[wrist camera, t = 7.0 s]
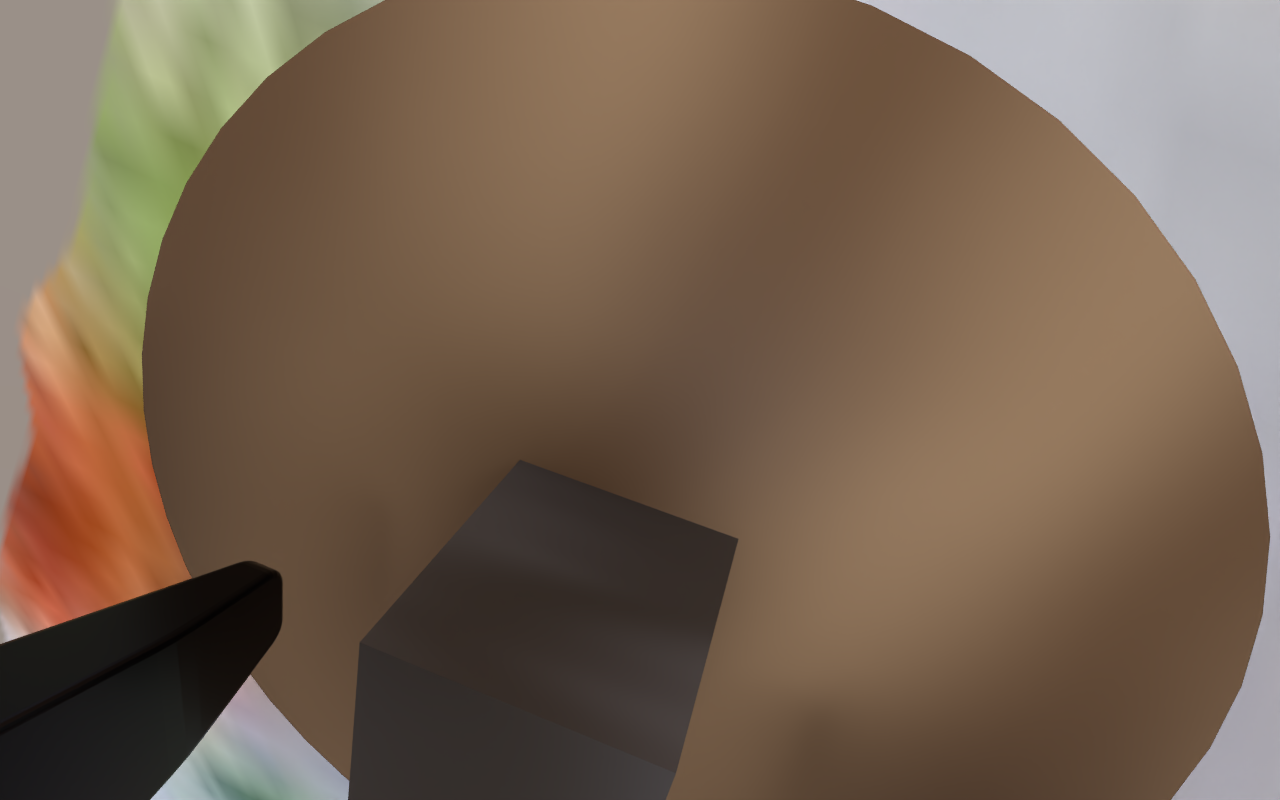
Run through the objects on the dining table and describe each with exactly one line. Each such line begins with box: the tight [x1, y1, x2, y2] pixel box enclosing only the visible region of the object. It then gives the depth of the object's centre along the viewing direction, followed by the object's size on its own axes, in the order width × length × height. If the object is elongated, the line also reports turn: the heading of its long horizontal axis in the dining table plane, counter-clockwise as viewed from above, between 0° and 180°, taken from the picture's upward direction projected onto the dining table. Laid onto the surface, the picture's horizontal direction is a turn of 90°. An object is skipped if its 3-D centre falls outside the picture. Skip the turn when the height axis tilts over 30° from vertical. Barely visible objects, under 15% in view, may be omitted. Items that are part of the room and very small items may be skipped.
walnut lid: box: [142, 0, 1270, 800], centre depth 9 cm, size 15×15×4 cm
